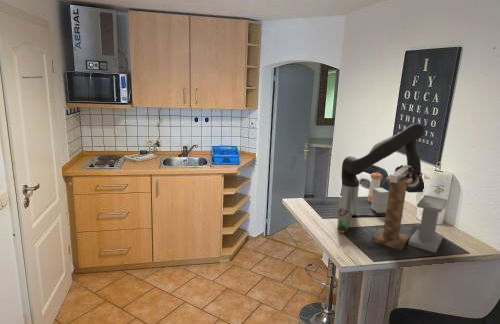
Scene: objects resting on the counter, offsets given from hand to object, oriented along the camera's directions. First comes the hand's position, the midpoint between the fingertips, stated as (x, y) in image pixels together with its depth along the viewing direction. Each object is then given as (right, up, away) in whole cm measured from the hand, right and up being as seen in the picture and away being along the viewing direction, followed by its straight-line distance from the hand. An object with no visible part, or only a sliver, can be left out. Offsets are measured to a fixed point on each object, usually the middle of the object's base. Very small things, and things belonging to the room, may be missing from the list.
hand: (405, 167), depth 168 cm
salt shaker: (+4, -22, +55) cm, 59 cm away
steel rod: (-4, -4, -4) cm, 7 cm away
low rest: (+11, -36, +2) cm, 38 cm away
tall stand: (-6, -36, +3) cm, 36 cm away
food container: (-27, -33, +12) cm, 44 cm away
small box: (+2, -26, +39) cm, 48 cm away
